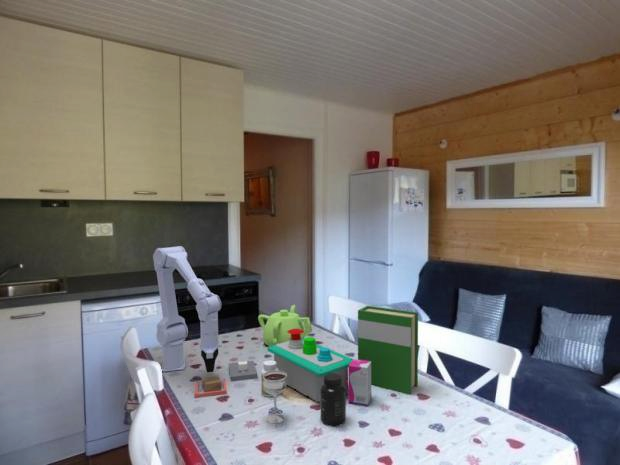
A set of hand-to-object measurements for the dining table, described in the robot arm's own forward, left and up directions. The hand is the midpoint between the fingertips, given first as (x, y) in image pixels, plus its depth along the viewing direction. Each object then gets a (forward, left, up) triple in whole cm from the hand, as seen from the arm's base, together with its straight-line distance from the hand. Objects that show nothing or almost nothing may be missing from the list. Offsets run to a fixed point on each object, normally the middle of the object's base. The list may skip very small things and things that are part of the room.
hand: (210, 371), depth 131 cm
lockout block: (+8, +1, -3) cm, 8 cm away
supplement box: (+27, +43, -3) cm, 51 cm away
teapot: (-30, +32, -3) cm, 44 cm away
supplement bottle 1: (+15, +18, -3) cm, 24 cm away
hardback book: (+19, +56, -3) cm, 59 cm away
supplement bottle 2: (+35, +32, -3) cm, 48 cm away
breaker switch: (-1, +11, -1) cm, 11 cm away
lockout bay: (+7, 0, -3) cm, 8 cm away
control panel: (+13, +32, -3) cm, 34 cm away
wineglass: (+30, +17, -3) cm, 35 cm away
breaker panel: (-3, +11, -3) cm, 12 cm away
